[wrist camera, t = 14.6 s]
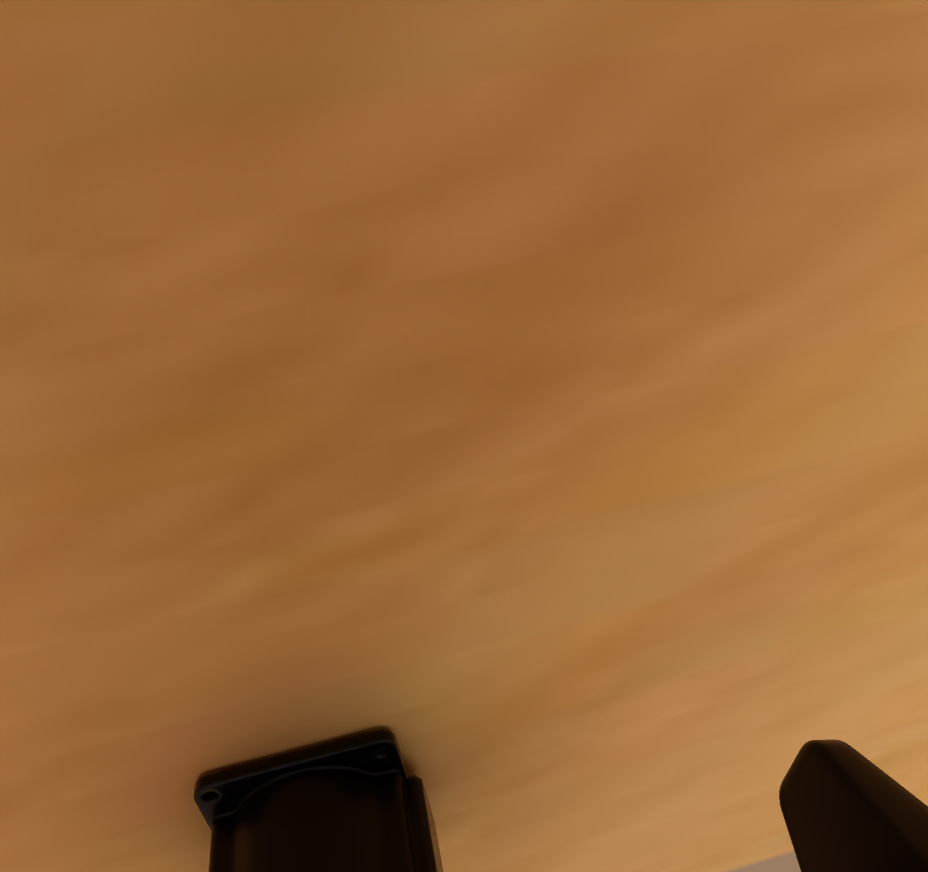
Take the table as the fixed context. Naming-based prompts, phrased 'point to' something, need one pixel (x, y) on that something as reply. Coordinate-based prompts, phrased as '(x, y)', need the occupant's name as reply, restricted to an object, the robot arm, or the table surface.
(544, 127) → the table surface
